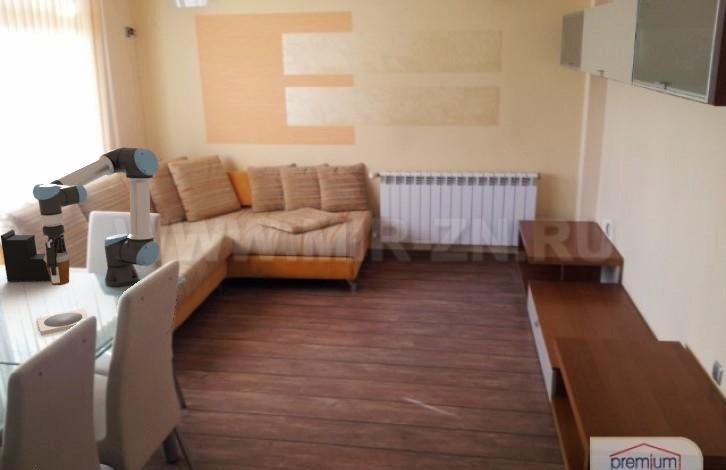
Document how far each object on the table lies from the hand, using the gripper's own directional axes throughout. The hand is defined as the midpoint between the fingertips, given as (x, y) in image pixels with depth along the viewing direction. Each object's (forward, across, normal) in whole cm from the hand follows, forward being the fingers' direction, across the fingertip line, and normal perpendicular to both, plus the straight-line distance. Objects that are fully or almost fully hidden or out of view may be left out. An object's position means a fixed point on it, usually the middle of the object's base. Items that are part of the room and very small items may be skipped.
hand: (60, 278), depth 240 cm
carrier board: (+18, +3, 0) cm, 18 cm away
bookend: (+18, -55, -31) cm, 66 cm away
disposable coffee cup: (+2, 0, 0) cm, 2 cm away
